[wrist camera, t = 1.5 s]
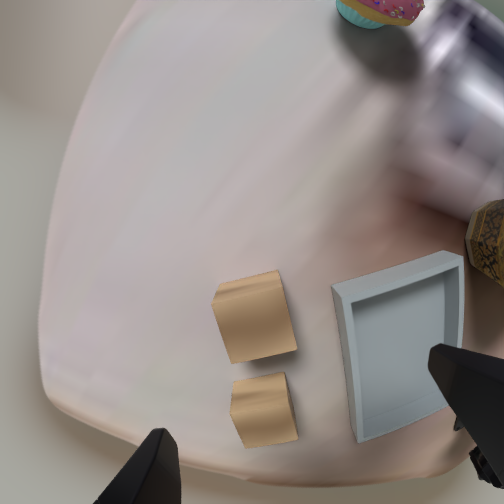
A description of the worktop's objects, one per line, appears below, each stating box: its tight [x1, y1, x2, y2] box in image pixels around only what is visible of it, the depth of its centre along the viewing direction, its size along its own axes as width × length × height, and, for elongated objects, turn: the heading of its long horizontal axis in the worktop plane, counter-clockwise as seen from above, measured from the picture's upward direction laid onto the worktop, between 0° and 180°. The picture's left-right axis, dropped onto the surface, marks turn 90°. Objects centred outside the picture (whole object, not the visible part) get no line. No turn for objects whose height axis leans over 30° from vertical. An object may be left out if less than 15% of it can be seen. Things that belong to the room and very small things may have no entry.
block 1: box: [211, 270, 297, 364], centre depth 20 cm, size 4×4×4 cm
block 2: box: [230, 372, 298, 449], centre depth 21 cm, size 4×4×4 cm
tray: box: [331, 250, 464, 444], centre depth 21 cm, size 16×11×3 cm
